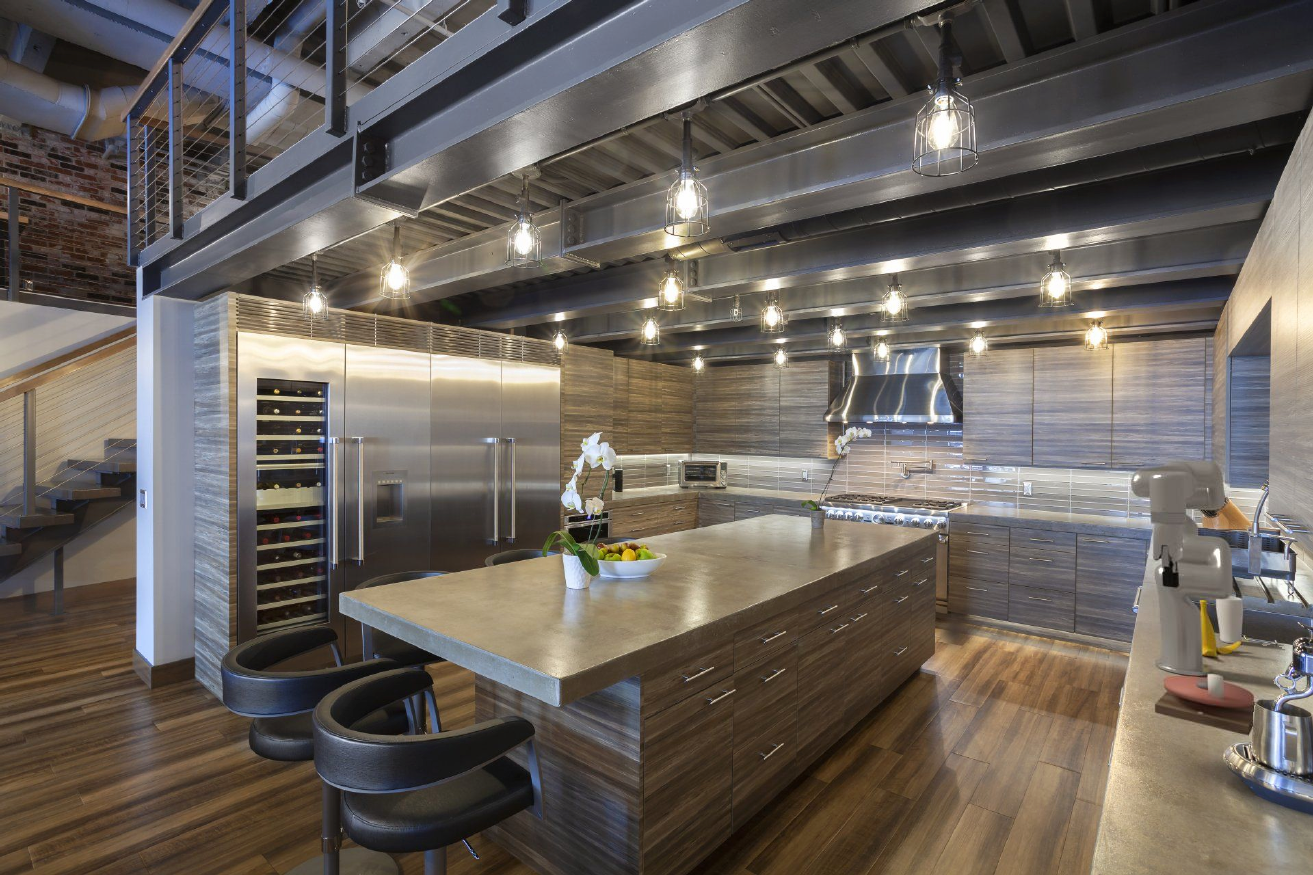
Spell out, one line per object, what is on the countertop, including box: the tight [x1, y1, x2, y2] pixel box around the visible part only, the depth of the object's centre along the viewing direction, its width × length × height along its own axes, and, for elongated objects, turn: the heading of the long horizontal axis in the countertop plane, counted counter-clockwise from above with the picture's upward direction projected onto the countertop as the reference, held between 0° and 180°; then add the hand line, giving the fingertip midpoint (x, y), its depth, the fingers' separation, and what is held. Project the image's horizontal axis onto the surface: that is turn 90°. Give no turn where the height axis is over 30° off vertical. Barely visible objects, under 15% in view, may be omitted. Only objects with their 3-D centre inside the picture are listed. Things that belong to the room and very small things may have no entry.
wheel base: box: [1154, 690, 1256, 736], centre depth 157 cm, size 20×17×4 cm
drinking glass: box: [1215, 595, 1244, 645], centre depth 212 cm, size 7×7×15 cm
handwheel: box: [1163, 673, 1255, 707], centre depth 157 cm, size 17×17×6 cm
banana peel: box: [1199, 599, 1242, 658], centre depth 201 cm, size 17×19×17 cm
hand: (1170, 586), depth 169 cm, fingers closed
